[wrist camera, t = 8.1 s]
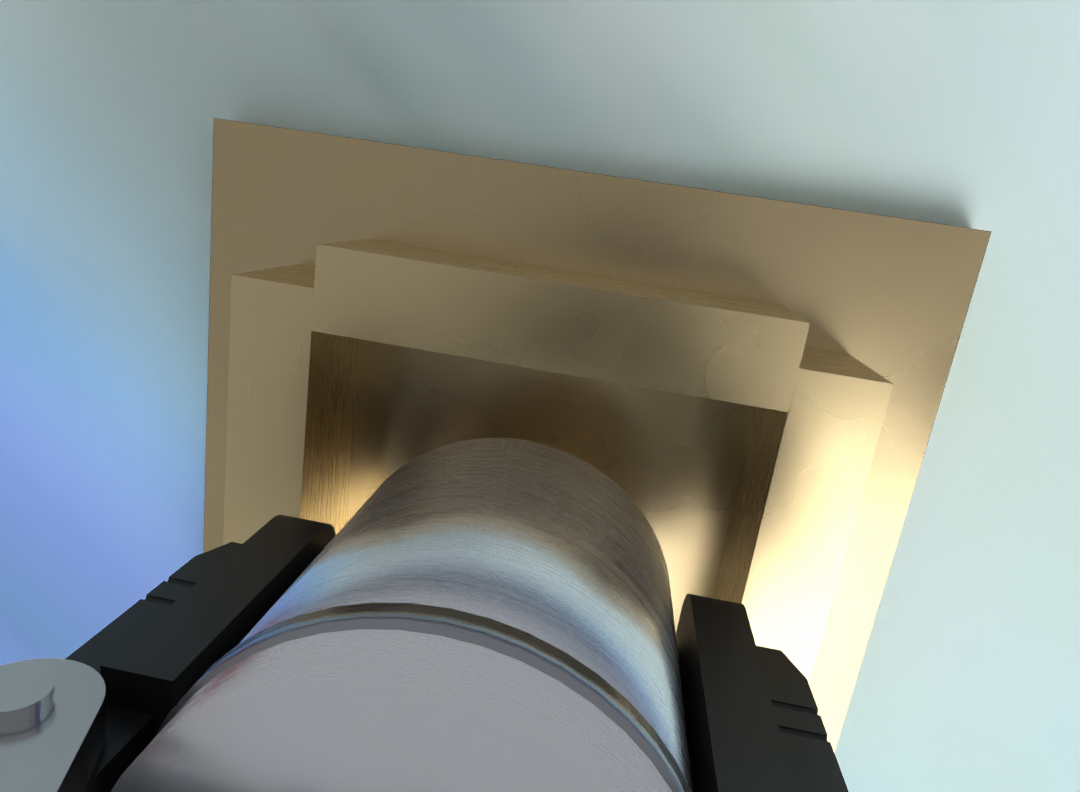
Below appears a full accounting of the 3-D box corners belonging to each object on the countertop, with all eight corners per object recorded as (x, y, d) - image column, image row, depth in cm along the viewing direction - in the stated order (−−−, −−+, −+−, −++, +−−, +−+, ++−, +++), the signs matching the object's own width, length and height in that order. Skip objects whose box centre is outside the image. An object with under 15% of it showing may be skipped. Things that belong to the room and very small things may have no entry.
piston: (705, 468, 10) (794, 761, 5) (641, 768, 11) (651, 1261, 6) (354, 406, 10) (67, 614, 5) (330, 703, 11) (83, 1114, 6)
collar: (973, 230, 11) (1069, 236, 9) (790, 849, 14) (823, 984, 12) (234, 122, 12) (130, 100, 10) (215, 721, 15) (134, 820, 13)
